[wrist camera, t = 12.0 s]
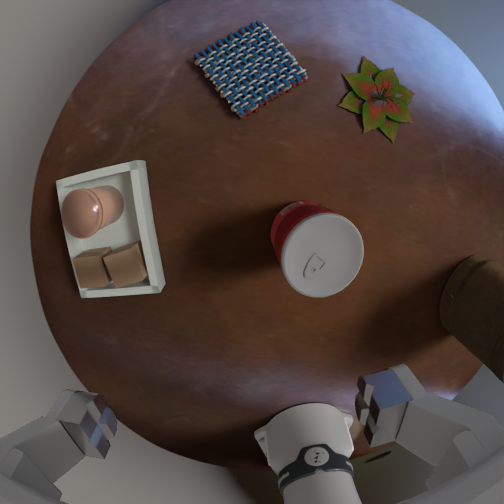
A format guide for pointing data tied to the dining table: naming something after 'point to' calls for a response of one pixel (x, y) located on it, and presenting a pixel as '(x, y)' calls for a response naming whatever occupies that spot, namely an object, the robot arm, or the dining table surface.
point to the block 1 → (92, 268)
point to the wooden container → (477, 309)
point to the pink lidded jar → (91, 210)
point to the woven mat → (251, 68)
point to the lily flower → (390, 87)
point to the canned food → (316, 248)
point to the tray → (120, 225)
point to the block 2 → (126, 264)
